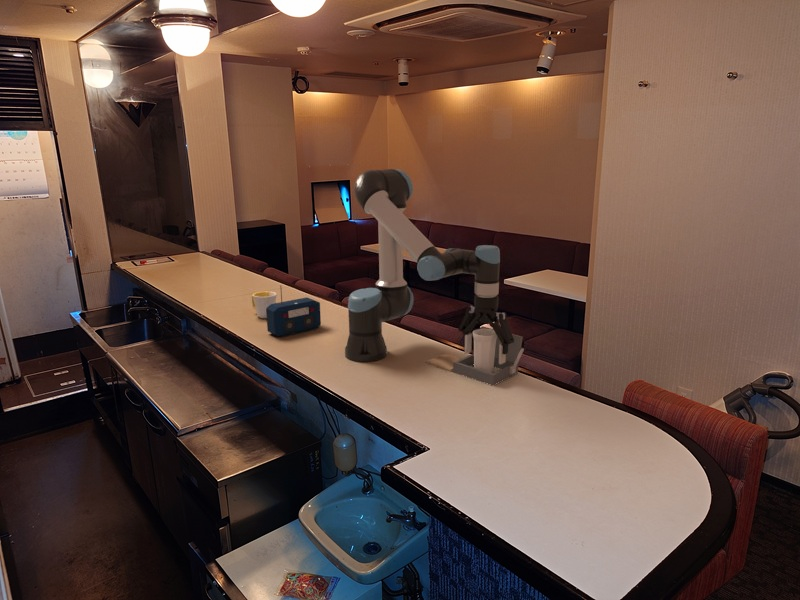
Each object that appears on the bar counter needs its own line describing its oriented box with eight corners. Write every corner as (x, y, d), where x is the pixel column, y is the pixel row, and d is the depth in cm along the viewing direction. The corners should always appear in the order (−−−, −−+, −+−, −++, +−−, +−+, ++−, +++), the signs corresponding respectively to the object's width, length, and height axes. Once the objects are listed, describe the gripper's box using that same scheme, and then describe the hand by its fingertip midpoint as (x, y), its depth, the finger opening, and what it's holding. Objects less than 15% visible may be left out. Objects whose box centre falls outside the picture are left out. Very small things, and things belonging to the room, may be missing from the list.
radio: (276, 339, 213) (273, 289, 208) (266, 333, 220) (263, 285, 215) (322, 328, 226) (320, 281, 221) (311, 323, 233) (309, 278, 227)
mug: (281, 317, 242) (280, 294, 239) (260, 321, 236) (258, 298, 233) (267, 310, 252) (266, 288, 250) (247, 314, 246) (245, 292, 243)
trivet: (449, 371, 181) (449, 369, 181) (425, 363, 188) (425, 361, 188) (469, 362, 188) (470, 361, 188) (445, 354, 196) (445, 353, 196)
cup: (466, 370, 181) (468, 330, 178) (488, 367, 184) (489, 327, 181) (478, 379, 174) (480, 337, 170) (500, 376, 177) (502, 334, 173)
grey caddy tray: (496, 386, 169) (498, 349, 166) (453, 372, 180) (453, 336, 177) (523, 372, 180) (526, 337, 176) (481, 359, 191) (482, 325, 188)
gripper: (527, 299, 166) (524, 364, 172) (462, 286, 183) (461, 346, 189) (513, 303, 161) (510, 370, 167) (448, 290, 178) (447, 351, 184)
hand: (484, 357), depth 178 cm, fingers open, 13 cm apart
